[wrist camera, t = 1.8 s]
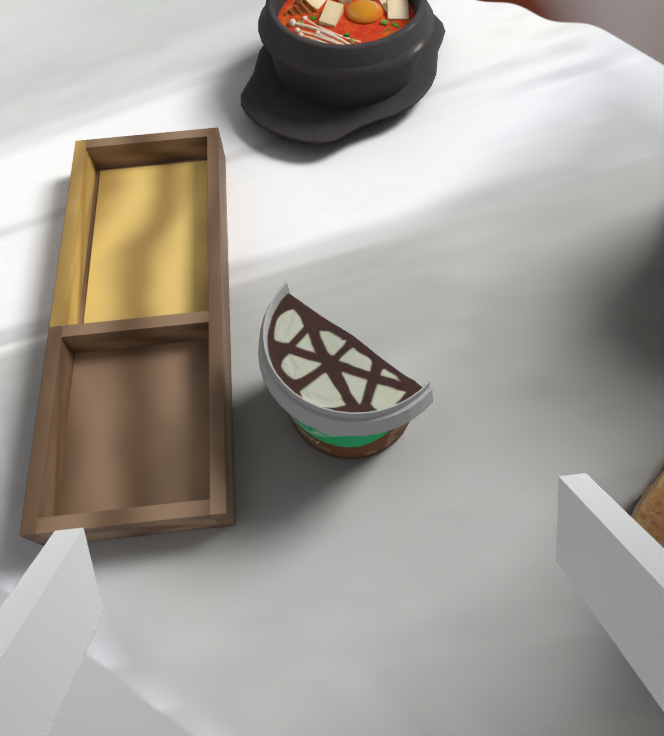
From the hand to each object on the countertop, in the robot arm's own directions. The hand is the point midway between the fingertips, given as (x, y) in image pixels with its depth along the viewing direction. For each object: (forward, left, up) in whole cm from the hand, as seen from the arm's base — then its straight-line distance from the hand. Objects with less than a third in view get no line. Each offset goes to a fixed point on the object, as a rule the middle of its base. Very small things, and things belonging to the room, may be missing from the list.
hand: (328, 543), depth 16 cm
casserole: (-6, -52, -24) cm, 58 cm away
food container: (0, -13, -24) cm, 27 cm away
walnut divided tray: (+13, -24, -24) cm, 36 cm away
